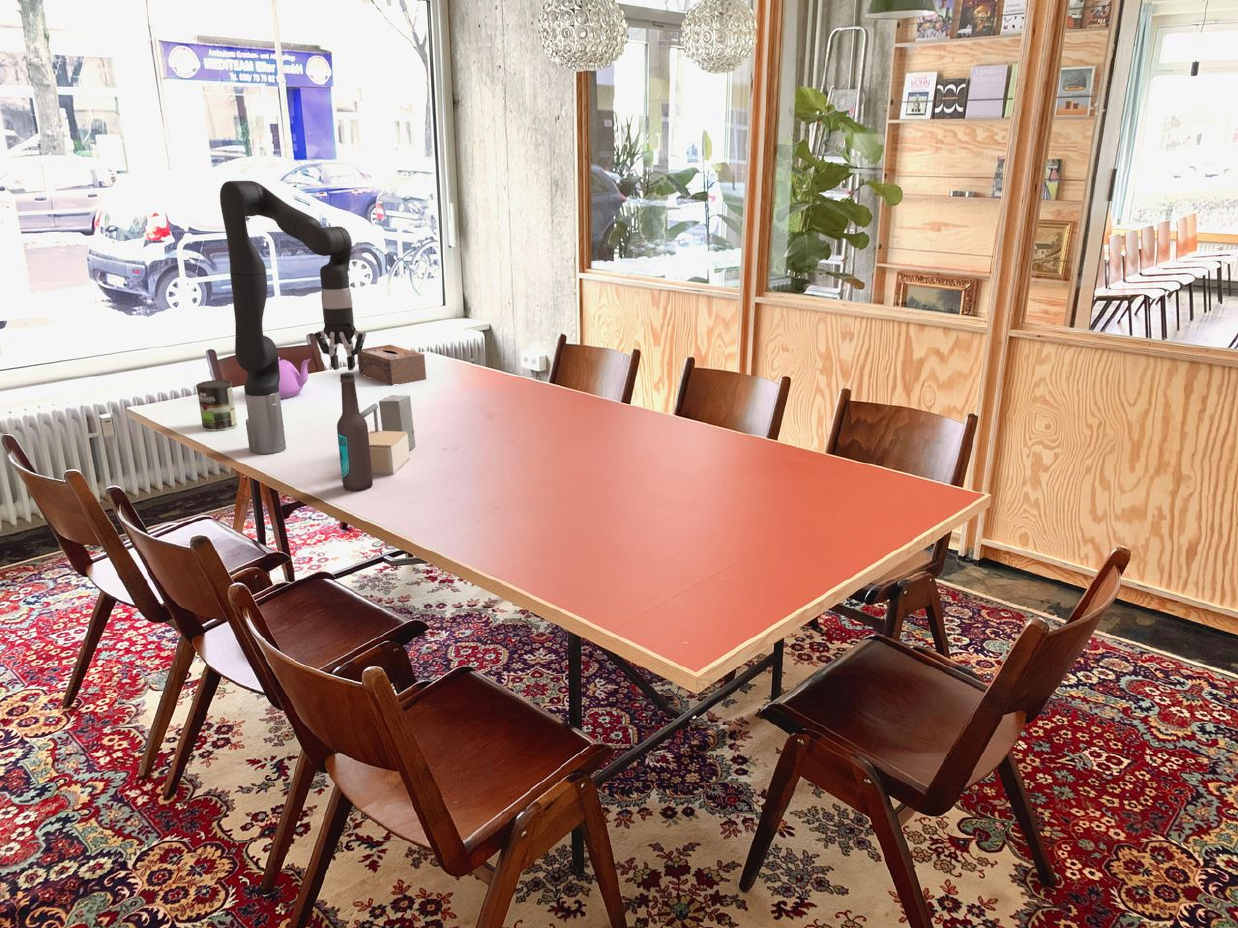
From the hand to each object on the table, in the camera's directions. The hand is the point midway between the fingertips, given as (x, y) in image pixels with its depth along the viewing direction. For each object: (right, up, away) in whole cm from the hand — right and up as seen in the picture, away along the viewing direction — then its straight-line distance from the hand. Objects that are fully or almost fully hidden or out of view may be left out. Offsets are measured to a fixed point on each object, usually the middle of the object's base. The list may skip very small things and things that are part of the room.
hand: (343, 369), depth 249 cm
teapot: (-46, -1, +84) cm, 95 cm away
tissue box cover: (-14, +8, +111) cm, 112 cm away
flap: (+9, -19, +5) cm, 21 cm away
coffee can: (-53, -14, +46) cm, 71 cm away
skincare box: (+10, -22, +22) cm, 32 cm away
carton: (+8, -26, +8) cm, 28 cm away
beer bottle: (+6, -31, -8) cm, 33 cm away
